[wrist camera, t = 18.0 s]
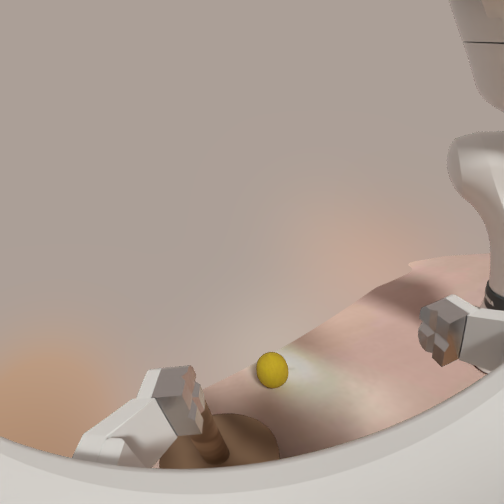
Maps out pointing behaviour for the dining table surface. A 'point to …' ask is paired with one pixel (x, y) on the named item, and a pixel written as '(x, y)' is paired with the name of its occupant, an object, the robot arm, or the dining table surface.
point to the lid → (222, 444)
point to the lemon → (272, 370)
